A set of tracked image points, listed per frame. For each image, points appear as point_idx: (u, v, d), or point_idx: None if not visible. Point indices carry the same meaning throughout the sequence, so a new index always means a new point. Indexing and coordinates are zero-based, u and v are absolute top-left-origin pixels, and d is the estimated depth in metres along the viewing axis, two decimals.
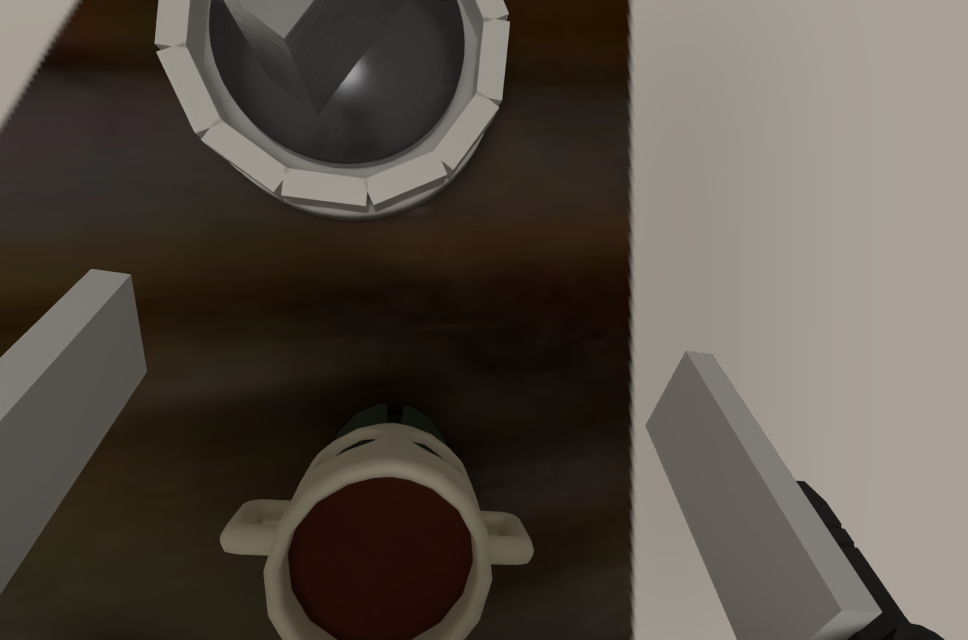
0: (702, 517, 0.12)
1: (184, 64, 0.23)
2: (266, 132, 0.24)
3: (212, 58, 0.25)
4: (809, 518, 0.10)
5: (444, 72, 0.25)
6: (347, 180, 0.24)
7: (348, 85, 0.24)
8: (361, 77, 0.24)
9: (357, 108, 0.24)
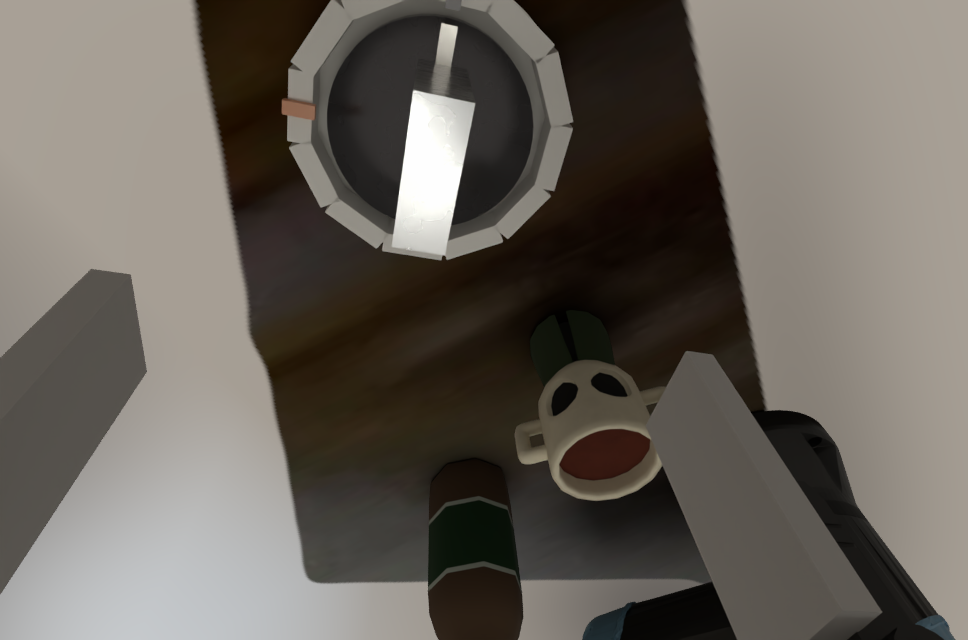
0: (703, 518, 0.12)
1: (345, 211, 0.31)
2: None
3: None
4: (809, 518, 0.10)
5: (519, 120, 0.29)
6: (484, 232, 0.33)
7: None
8: None
9: (467, 179, 0.31)
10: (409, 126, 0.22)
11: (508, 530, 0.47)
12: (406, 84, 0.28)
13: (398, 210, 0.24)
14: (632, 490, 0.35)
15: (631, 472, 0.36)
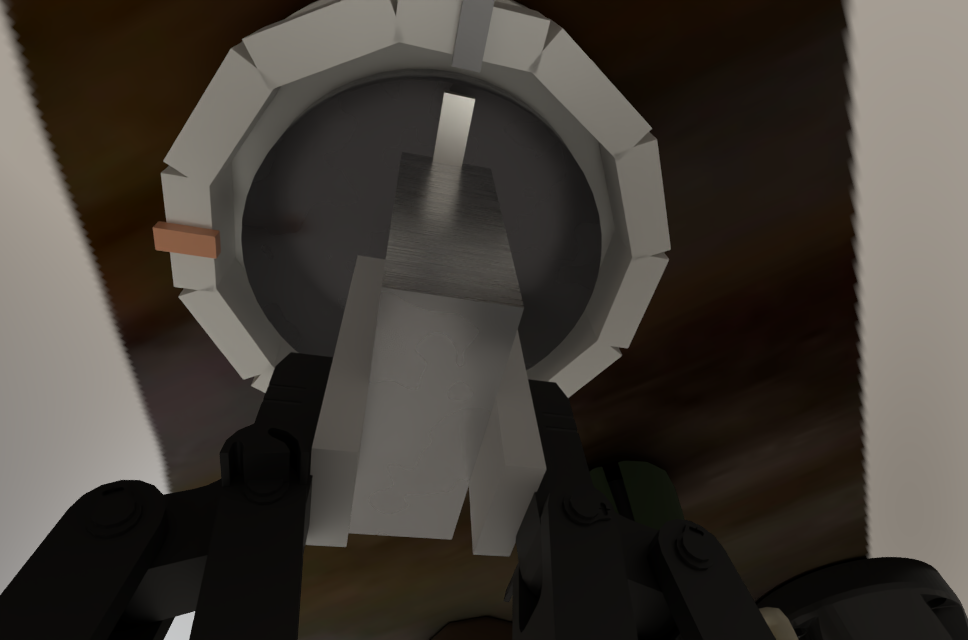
0: None
1: None
2: None
3: None
4: (521, 400, 0.11)
5: (577, 247, 0.17)
6: None
7: None
8: None
9: None
10: (375, 352, 0.10)
11: None
12: (380, 195, 0.16)
13: (358, 483, 0.12)
14: None
15: None
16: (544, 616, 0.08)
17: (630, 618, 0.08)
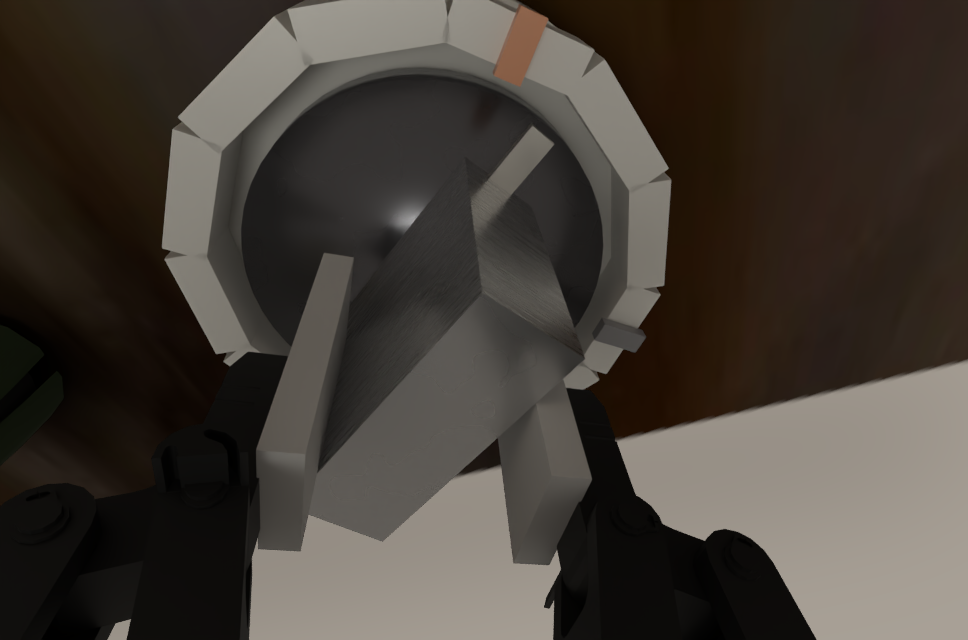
0: None
1: (277, 71, 0.13)
2: None
3: (342, 62, 0.15)
4: (561, 410, 0.11)
5: (565, 305, 0.18)
6: (235, 327, 0.17)
7: None
8: None
9: None
10: (435, 347, 0.10)
11: None
12: (423, 185, 0.15)
13: (332, 461, 0.11)
14: None
15: None
16: (590, 623, 0.08)
17: (676, 631, 0.08)
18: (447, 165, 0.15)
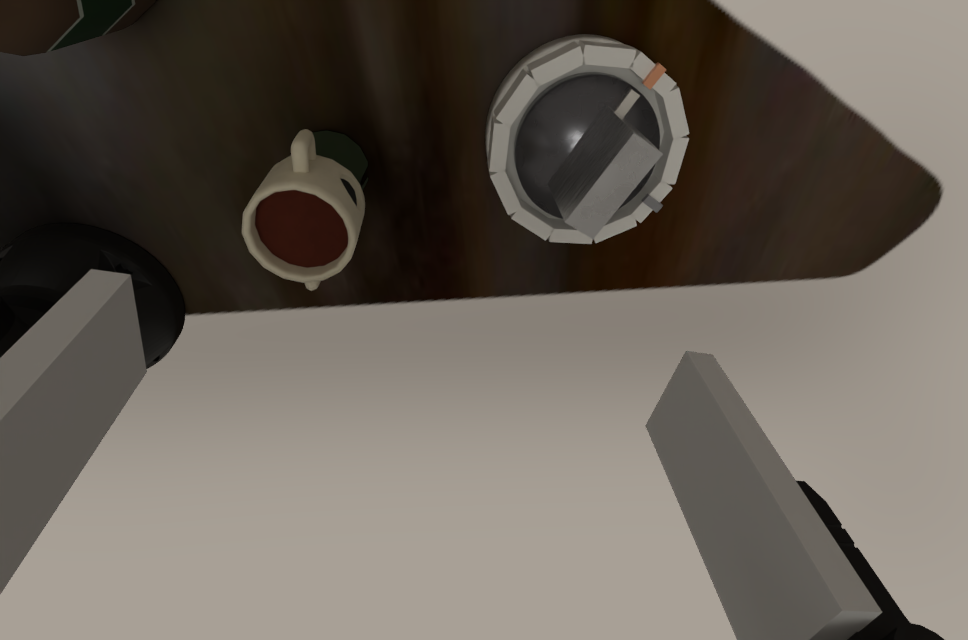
0: (703, 518, 0.12)
1: (572, 63, 0.37)
2: (545, 210, 0.44)
3: (581, 64, 0.39)
4: (809, 518, 0.10)
5: None
6: (503, 161, 0.41)
7: None
8: None
9: None
10: (619, 152, 0.34)
11: (85, 39, 0.33)
12: (589, 117, 0.40)
13: (583, 200, 0.36)
14: (251, 248, 0.35)
15: (262, 245, 0.36)
16: None
17: None
18: (598, 108, 0.40)
